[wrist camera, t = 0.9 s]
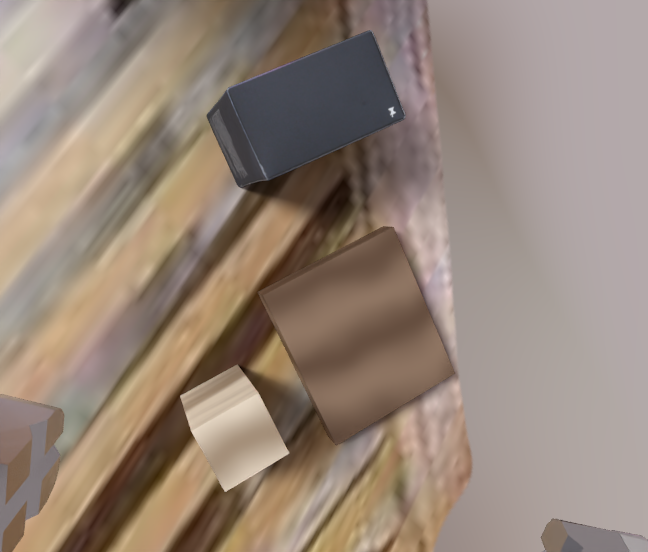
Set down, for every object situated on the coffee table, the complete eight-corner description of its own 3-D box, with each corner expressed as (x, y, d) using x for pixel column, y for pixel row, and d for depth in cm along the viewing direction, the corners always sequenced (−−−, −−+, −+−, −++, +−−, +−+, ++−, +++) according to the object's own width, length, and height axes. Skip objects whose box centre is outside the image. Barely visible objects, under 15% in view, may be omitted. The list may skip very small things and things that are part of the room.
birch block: (180, 395, 48) (191, 430, 40) (237, 364, 49) (258, 392, 42) (209, 448, 49) (224, 492, 42) (264, 416, 50) (289, 453, 43)
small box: (323, 60, 49) (375, 22, 39) (354, 137, 50) (412, 120, 40) (201, 110, 46) (223, 84, 36) (238, 190, 48) (269, 185, 38)
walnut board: (257, 292, 49) (263, 295, 47) (383, 226, 52) (393, 227, 50) (328, 437, 52) (336, 445, 50) (443, 367, 55) (454, 373, 53)
